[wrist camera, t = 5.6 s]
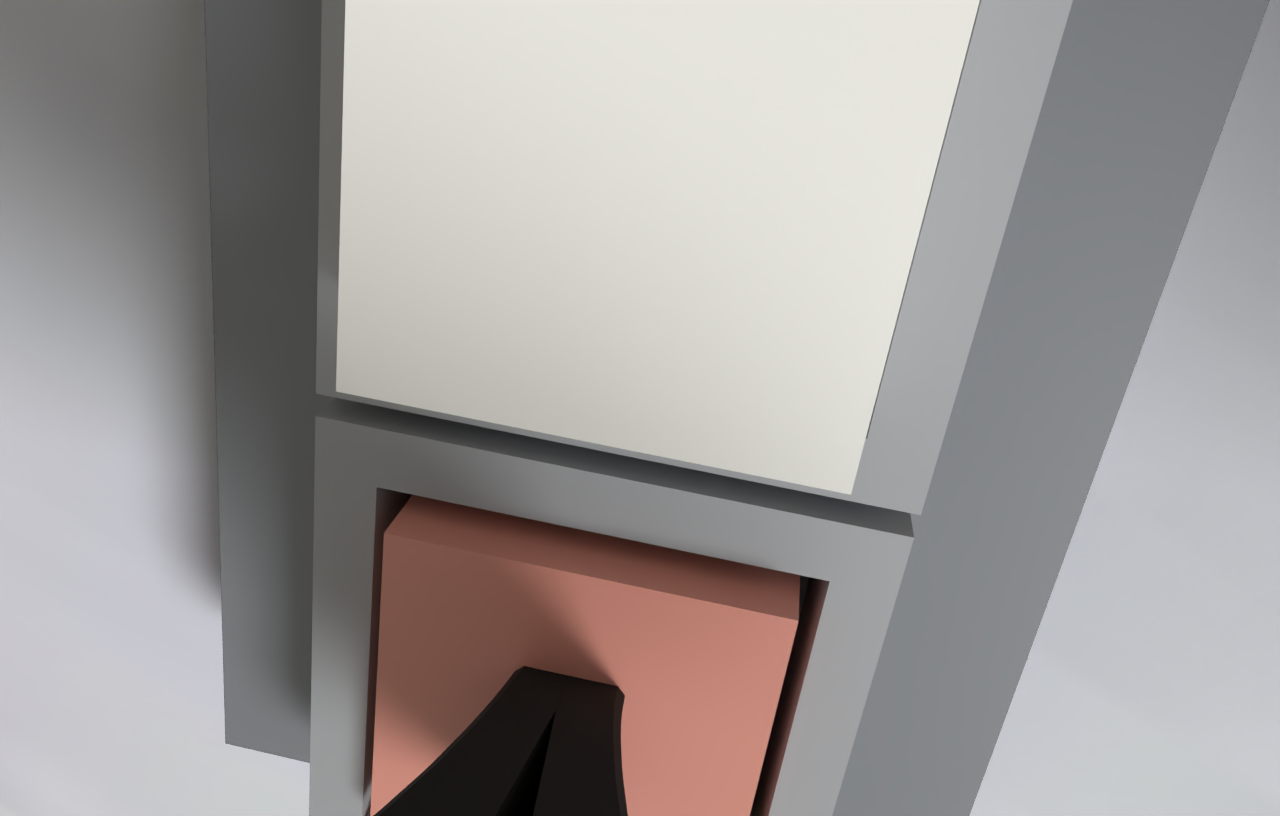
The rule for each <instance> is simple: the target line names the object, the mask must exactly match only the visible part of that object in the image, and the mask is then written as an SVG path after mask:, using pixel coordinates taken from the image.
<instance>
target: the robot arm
mask: <svg viewBox="0 0 1280 816" xmlns="http://www.w3.org/2000/svg"><path fill="white" fill-rule="evenodd" d="M624 699H625V695H624V694H623V692H622V691H621V690H620V688H619V687H618V686H615V685H610V684H605V683H601V682H596V681H591V680H586V679H582V678H577V677H573V676H568V675H563V674H559V673H554V672H550V671H545V670H541V669H536V668H532V667H527V666H523V667H521V668H520V669H518V670H516V671H514V673H513V674H512V676H511V677H510V678H509V680H508V681H507V682H506V683H505V685H504V686H503V687H502V688H501V690H500V691H499V692H498V693H497V694H496V696H495V697H494V698H493V699H492V700H491V702H490V703H489V704H488V705H487V706H486V707H485V708H484V710H483V711H482V712H481V713H480V714H479V715H478V716H477V717H476V718H475V719H474V721H473V722H472V723H471V724H470V725H469V726H468V727H467V728H466V729H465V730H464V731H463V732H462V733H461V734H460V735H459V736H458V737H457V738H456V739H455V740H454V741H453V742H452V743H451V744H450V745H449V746H448V747H447V748H446V750H445V751H444V752H443V753H442V754H441V755H440V756H439V757H438V758H437V759H436V760H435V761H434V762H433V763H432V764H431V765H429V766H428V767H427V768H426V769H425V770H424V771H423V772H422V773H421V774H420V775H419V776H418V777H417V778H415V779H414V780H413V781H412V782H411V783H410V784H409V785H408V786H406V787H405V788H404V789H403V790H402V791H401V792H400V793H399V794H397V795H396V796H395V797H394V798H393V799H392V800H391V801H390V802H389V803H387V804H386V805H385V806H384V807H383V808H382V809H381V810H379V811H378V812H377V813H376V814H375V815H373V816H628V812H627V805H626V797H625V789H624V782H623V771H622V754H621V719H622V710H623V705H624Z"/></svg>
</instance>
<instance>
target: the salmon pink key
mask: <svg viewBox="0 0 1280 816" xmlns="http://www.w3.org/2000/svg"><path fill="white" fill-rule="evenodd" d="M799 594H800V575H797V574H792V573H787V572H782V571H777V570H773V569H768V568H763V567H758V566H753V565H749V564H744V563H739V562H734V561H729V560H725V559H720V558H715V557H710V556H705V555H700V554H696V553H691V552H686V551H681V550H676V549H672V548H667V547H662V546H657V545H652V544H648V543H643V542H638V541H633V540H628V539H624V538H619V537H614V536H609V535H604V534H600V533H595V532H590V531H585V530H580V529H576V528H571V527H566V526H561V525H556V524H551V523H547V522H542V521H537V520H532V519H527V518H523V517H518V516H513V515H508V514H503V513H499V512H494V511H489V510H484V509H479V508H475V507H470V506H465V505H460V504H455V503H451V502H446V501H441V500H436V499H431V498H426V497H422V496H417V495H412V496H411V497H410V499H409V500H408V502H407V503H406V504H405V506H404V507H403V508H402V510H401V511H400V512H399V514H398V515H397V516H396V518H395V519H394V520H393V522H392V523H391V524H390V526H389V527H388V528H387V530H386V531H385V532H384V541H383V562H382V583H381V603H380V624H379V645H378V666H377V687H376V707H375V728H374V749H373V770H372V790H371V811H370V816H373V815H375V814H376V813H377V812H378V811H379V810H381V809H382V808H383V807H384V806H385V805H386V804H387V803H389V802H390V801H391V800H392V799H393V798H394V797H395V796H396V795H397V794H399V793H400V792H401V791H402V790H403V789H404V788H405V787H406V786H408V785H409V784H410V783H411V782H412V781H413V780H414V779H415V778H417V777H418V776H419V775H420V774H421V773H422V772H423V771H424V770H425V769H426V768H427V767H428V766H429V765H431V764H432V763H433V762H434V761H435V760H436V759H437V758H438V757H439V756H440V755H441V754H442V753H443V752H444V751H445V750H446V748H447V747H448V746H449V745H450V744H451V743H452V742H453V741H454V740H455V739H456V738H457V737H458V736H459V735H460V734H461V733H462V732H463V731H464V730H465V729H466V728H467V727H468V726H469V725H470V724H471V723H472V722H473V721H474V719H475V718H476V717H477V716H478V715H479V714H480V713H481V712H482V711H483V710H484V708H485V707H486V706H487V705H488V704H489V703H490V702H491V700H492V699H493V698H494V697H495V696H496V694H497V693H498V692H499V691H500V690H501V688H502V687H503V686H504V685H505V683H506V682H507V681H508V680H509V678H510V677H511V676H512V674H513V673H514V671H516V670H518V669H520V668H521V667H523V666H527V667H532V668H536V669H541V670H545V671H550V672H554V673H559V674H563V675H568V676H573V677H577V678H582V679H586V680H591V681H596V682H601V683H605V684H610V685H615V686H618V687H619V688H620V690H621V691H622V692H623V694H624V695H625V699H624V705H623V710H622V719H621V754H622V771H623V782H624V789H625V797H626V805H627V812H628V816H750V813H751V809H752V805H753V801H754V797H755V793H756V789H757V785H758V781H759V777H760V773H761V769H762V765H763V761H764V757H765V753H766V749H767V745H768V741H769V737H770V733H771V729H772V725H773V721H774V717H775V713H776V709H777V705H778V701H779V697H780V693H781V689H782V685H783V681H784V677H785V673H786V669H787V665H788V661H789V657H790V653H791V649H792V645H793V641H794V637H795V634H796V630H797V626H798V622H799Z"/></svg>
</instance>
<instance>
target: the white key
mask: <svg viewBox="0 0 1280 816" xmlns="http://www.w3.org/2000/svg"><path fill="white" fill-rule="evenodd" d="M979 1H980V0H345V40H344V81H343V122H342V163H341V205H340V246H339V287H338V328H337V369H336V392H341V393H346V394H351V395H356V396H361V397H366V398H371V399H376V400H381V401H386V402H391V403H396V404H401V405H406V406H411V407H416V408H421V409H426V410H431V411H436V412H441V413H446V414H451V415H456V416H461V417H466V418H471V419H476V420H481V421H486V422H491V423H496V424H501V425H506V426H511V427H516V428H521V429H526V430H531V431H536V432H541V433H546V434H551V435H556V436H561V437H566V438H571V439H575V440H580V441H585V442H590V443H595V444H600V445H605V446H610V447H615V448H620V449H625V450H630V451H635V452H640V453H645V454H650V455H655V456H660V457H665V458H670V459H675V460H680V461H685V462H690V463H695V464H700V465H705V466H710V467H715V468H720V469H725V470H730V471H735V472H740V473H745V474H750V475H755V476H760V477H765V478H770V479H775V480H780V481H785V482H790V483H795V484H800V485H805V486H810V487H815V488H820V489H825V490H829V491H834V492H839V493H844V494H849V495H851V493H852V489H853V485H854V481H855V477H856V474H857V470H858V466H859V462H860V458H861V454H862V451H863V447H864V443H865V439H866V435H867V431H868V428H869V424H870V420H871V416H872V412H873V408H874V404H875V401H876V397H877V393H878V389H879V385H880V381H881V378H882V374H883V370H884V366H885V362H886V358H887V355H888V351H889V347H890V343H891V339H892V335H893V332H894V328H895V324H896V320H897V316H898V312H899V309H900V305H901V301H902V297H903V293H904V289H905V286H906V282H907V278H908V274H909V270H910V266H911V262H912V259H913V255H914V251H915V247H916V243H917V239H918V236H919V232H920V228H921V224H922V220H923V216H924V213H925V209H926V205H927V201H928V197H929V193H930V190H931V186H932V182H933V178H934V174H935V170H936V167H937V163H938V159H939V155H940V151H941V147H942V143H943V140H944V136H945V132H946V128H947V124H948V120H949V117H950V113H951V109H952V105H953V101H954V97H955V94H956V90H957V86H958V82H959V78H960V74H961V71H962V67H963V63H964V59H965V55H966V51H967V48H968V44H969V40H970V36H971V32H972V28H973V25H974V21H975V17H976V13H977V9H978V5H979Z"/></svg>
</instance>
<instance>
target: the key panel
mask: <svg viewBox="0 0 1280 816" xmlns="http://www.w3.org/2000/svg"><path fill="white" fill-rule="evenodd" d="M1269 1H1270V0H980V1H979V5H978V9H977V13H976V17H975V21H974V25H973V28H972V32H971V36H970V40H969V44H968V48H967V51H966V55H965V59H964V63H963V67H962V71H961V74H960V78H959V82H958V86H957V90H956V94H955V97H954V101H953V105H952V109H951V113H950V117H949V120H948V124H947V128H946V132H945V136H944V140H943V143H942V147H941V151H940V155H939V159H938V163H937V167H936V170H935V174H934V178H933V182H932V186H931V190H930V193H929V197H928V201H927V205H926V209H925V213H924V216H923V220H922V224H921V228H920V232H919V236H918V239H917V243H916V247H915V251H914V255H913V259H912V262H911V266H910V270H909V274H908V278H907V282H906V286H905V289H904V293H903V297H902V301H901V305H900V309H899V312H898V316H897V320H896V324H895V328H894V332H893V335H892V339H891V343H890V347H889V351H888V355H887V358H886V362H885V366H884V370H883V374H882V378H881V381H880V385H879V389H878V393H877V397H876V401H875V404H874V408H873V412H872V416H871V420H870V424H869V428H868V431H867V435H866V439H865V443H864V447H863V451H862V454H861V458H860V462H859V466H858V470H857V474H856V477H855V481H854V485H853V489H852V493H851V495H849V494H844V493H839V492H834V491H829V490H825V489H820V488H815V487H810V486H805V485H800V484H795V483H790V482H785V481H780V480H775V479H770V478H765V477H760V476H755V475H750V474H745V473H740V472H735V471H730V470H725V469H720V468H715V467H710V466H705V465H700V464H695V463H690V462H685V461H680V460H675V459H670V458H665V457H660V456H655V455H650V454H645V453H640V452H635V451H630V450H625V449H620V448H615V447H610V446H605V445H600V444H595V443H590V442H585V441H580V440H575V439H571V438H566V437H561V436H556V435H551V434H546V433H541V432H536V431H531V430H526V429H521V428H516V427H511V426H506V425H501V424H496V423H491V422H486V421H481V420H476V419H471V418H466V417H461V416H456V415H451V414H446V413H441V412H436V411H431V410H426V409H421V408H416V407H411V406H406V405H401V404H396V403H391V402H386V401H381V400H376V399H371V398H366V397H361V396H356V395H351V394H346V393H341V392H336V369H337V328H338V287H339V246H340V205H341V163H342V122H343V81H344V40H345V0H205V34H206V69H207V105H208V140H209V176H210V211H211V247H212V282H213V318H214V353H215V388H216V424H217V459H218V495H219V530H220V566H221V601H222V637H223V672H224V707H225V743H226V744H231V745H235V746H239V747H243V748H248V749H252V750H256V751H261V752H265V753H269V754H274V755H278V756H282V757H287V758H291V759H295V760H299V761H304V762H308V763H310V799H309V816H370V811H371V790H372V770H373V749H374V728H375V707H376V687H377V666H378V645H379V624H380V603H381V583H382V562H383V541H384V532H385V531H386V530H387V528H388V527H389V526H390V524H391V523H392V522H393V520H394V519H395V518H396V516H397V515H398V514H399V512H400V511H401V510H402V508H403V507H404V506H405V504H406V503H407V502H408V500H409V499H410V497H411V496H412V495H417V496H422V497H426V498H431V499H436V500H441V501H446V502H451V503H455V504H460V505H465V506H470V507H475V508H479V509H484V510H489V511H494V512H499V513H503V514H508V515H513V516H518V517H523V518H527V519H532V520H537V521H542V522H547V523H551V524H556V525H561V526H566V527H571V528H576V529H580V530H585V531H590V532H595V533H600V534H604V535H609V536H614V537H619V538H624V539H628V540H633V541H638V542H643V543H648V544H652V545H657V546H662V547H667V548H672V549H676V550H681V551H686V552H691V553H696V554H700V555H705V556H710V557H715V558H720V559H725V560H729V561H734V562H739V563H744V564H749V565H753V566H758V567H763V568H768V569H773V570H777V571H782V572H787V573H792V574H797V575H800V594H799V622H798V626H797V630H796V634H795V637H794V641H793V645H792V649H791V653H790V657H789V661H788V665H787V669H786V673H785V677H784V681H783V685H782V689H781V693H780V697H779V701H778V705H777V709H776V713H775V717H774V721H773V725H772V729H771V733H770V737H769V741H768V745H767V749H766V753H765V757H764V761H763V765H762V769H761V773H760V777H759V781H758V785H757V789H756V793H755V797H754V801H753V805H752V809H751V813H750V816H969V815H970V812H971V809H972V807H973V804H974V801H975V799H976V796H977V793H978V790H979V788H980V785H981V782H982V780H983V777H984V774H985V771H986V769H987V766H988V763H989V761H990V758H991V755H992V752H993V750H994V747H995V744H996V742H997V739H998V736H999V733H1000V731H1001V728H1002V725H1003V723H1004V720H1005V717H1006V714H1007V712H1008V709H1009V706H1010V704H1011V701H1012V698H1013V695H1014V693H1015V690H1016V687H1017V685H1018V682H1019V679H1020V676H1021V674H1022V671H1023V668H1024V666H1025V663H1026V660H1027V657H1028V655H1029V652H1030V649H1031V647H1032V644H1033V641H1034V638H1035V636H1036V633H1037V630H1038V628H1039V625H1040V622H1041V619H1042V617H1043V614H1044V611H1045V609H1046V606H1047V603H1048V600H1049V598H1050V595H1051V592H1052V590H1053V587H1054V584H1055V581H1056V579H1057V576H1058V573H1059V571H1060V568H1061V565H1062V562H1063V560H1064V557H1065V554H1066V552H1067V549H1068V546H1069V544H1070V541H1071V538H1072V535H1073V533H1074V530H1075V527H1076V525H1077V522H1078V519H1079V516H1080V514H1081V511H1082V508H1083V506H1084V503H1085V500H1086V497H1087V495H1088V492H1089V489H1090V487H1091V484H1092V481H1093V478H1094V476H1095V473H1096V470H1097V468H1098V465H1099V462H1100V459H1101V457H1102V454H1103V451H1104V449H1105V446H1106V443H1107V440H1108V438H1109V435H1110V432H1111V430H1112V427H1113V424H1114V421H1115V419H1116V416H1117V413H1118V411H1119V408H1120V405H1121V402H1122V400H1123V397H1124V394H1125V392H1126V389H1127V386H1128V383H1129V381H1130V378H1131V375H1132V373H1133V370H1134V367H1135V364H1136V362H1137V359H1138V356H1139V354H1140V351H1141V348H1142V345H1143V343H1144V340H1145V337H1146V335H1147V332H1148V329H1149V326H1150V324H1151V321H1152V318H1153V316H1154V313H1155V310H1156V307H1157V305H1158V302H1159V299H1160V297H1161V294H1162V291H1163V288H1164V286H1165V283H1166V280H1167V278H1168V275H1169V272H1170V269H1171V267H1172V264H1173V261H1174V259H1175V256H1176V253H1177V250H1178V248H1179V245H1180V242H1181V240H1182V237H1183V234H1184V231H1185V229H1186V226H1187V223H1188V221H1189V218H1190V215H1191V212H1192V210H1193V207H1194V204H1195V202H1196V199H1197V196H1198V193H1199V191H1200V188H1201V185H1202V183H1203V180H1204V177H1205V174H1206V172H1207V169H1208V166H1209V164H1210V161H1211V158H1212V155H1213V153H1214V150H1215V147H1216V145H1217V142H1218V139H1219V136H1220V134H1221V131H1222V128H1223V126H1224V123H1225V120H1226V117H1227V115H1228V112H1229V109H1230V107H1231V104H1232V101H1233V98H1234V96H1235V93H1236V90H1237V88H1238V85H1239V82H1240V79H1241V77H1242V74H1243V71H1244V69H1245V66H1246V63H1247V60H1248V58H1249V55H1250V52H1251V50H1252V47H1253V44H1254V41H1255V39H1256V36H1257V33H1258V31H1259V28H1260V25H1261V22H1262V20H1263V17H1264V14H1265V12H1266V9H1267V6H1268V3H1269Z"/></svg>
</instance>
